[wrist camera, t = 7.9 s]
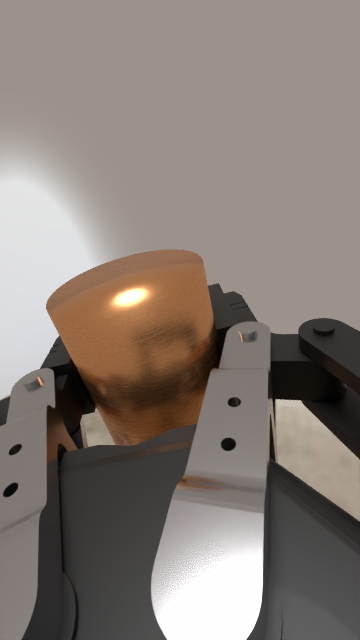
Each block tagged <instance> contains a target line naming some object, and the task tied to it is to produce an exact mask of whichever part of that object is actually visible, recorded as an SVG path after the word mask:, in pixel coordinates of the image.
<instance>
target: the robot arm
mask: <svg viewBox="0 0 360 640" xmlns="http://www.w3.org/2000/svg"><path fill="white" fill-rule="evenodd" d="M208 290H209V295H210V300H211V305H212V311H213V316H214V325H215V330H216V335H217V340H218V345H219V350H220V356H221V361H220V365H219V368H213V369H212V370H211V372H210V376H209V380H208V384H207V388H206V392H205V396H204V400H203V404H202V407H201V411H200V415H199V419H198V423H197V424H194V425H190V426H185V427H180V428H176V429H171V430H169V431H167V432H164V433H162V434H160V435H157V436H155V437H153V438H151V439H148V440H146V441H144V442H142V443H139V444H137V445H133V446H119V445H96V446H92V447H88V444H87V438H86V432H85V427H84V424H83V423H82V421H81V418H82V415H84V414H89V413H93V412H95V408H96V405H95V403H94V401H93V400H92V398H91V396H90V394H89V392H88V390H87V388H86V386H85V384H84V382H83V380H82V378H81V376H80V374H79V372H78V370H77V368H76V366H75V364H74V362H73V361H72V359H71V357H70V355H69V353H68V351H67V349H66V347H65V345H64V343H63V341H62V339H61V337H60V336H59V337H58V338H57V339H56V341H55V343H54V344H53V347H52V348H51V350H50V352H49V354H48V356H47V357H46V359H45V361H44V362H43V364H42V366H41V368H40V369H38V370H35V371H33V372H31V373H29V374H27V375H25V376H24V377H22V378H21V379H20V380H19V381H18V382H17V383H16V384H15V385H14V386H13V388H12V391H11V396H10V397H8V398H5V399H3V400H1V401H0V640H360V521H358V520H357V519H355V518H354V517H353V516H351V515H350V514H348V513H347V512H346V511H344V510H343V509H341V508H340V507H339V506H337V505H336V504H334V503H333V502H331V501H330V500H329V499H327V498H326V497H324V496H323V495H322V494H320V493H319V492H317V491H316V490H315V489H313V488H312V487H310V486H309V485H308V484H306V483H305V482H303V481H302V480H301V479H299V478H298V477H296V476H295V475H293V474H292V473H291V472H289V471H288V470H286V469H285V468H284V467H282V466H281V465H279V464H278V458H277V435H276V399H285V400H301V401H302V403H303V404H304V405H305V406H306V407H307V408H308V409H309V410H310V411H311V412H312V413H313V414H314V415H315V416H316V417H317V418H318V419H319V420H320V421H321V422H322V423H323V424H324V425H325V426H326V427H327V428H328V429H329V430H330V431H331V432H332V433H333V434H334V435H335V436H336V437H337V438H338V439H339V440H340V441H341V442H342V443H343V444H344V445H345V446H347V447H348V448H349V449H350V450H351V451H352V452H353V453H354V454H355V455H356V456H357V457H358V458H359V459H360V331H358V330H356V329H354V328H352V327H350V326H348V325H347V324H345V323H343V322H340V321H338V320H334V319H327V318H319V319H313V320H309V321H307V322H304V323H303V324H302V325H301V326H300V328H299V331H298V333H299V334H274V333H271V332H270V329H269V327H268V326H267V325H265V324H263V323H259V322H258V321H257V320H256V318H255V317H254V315H253V313H252V312H251V310H250V308H248V305H247V304H246V303H245V300H244V299H243V297H242V296H241V295H240V294H238V293H236V292H229V293H223V291H222V289H221V287H220V285H219V283H218V284H213V285H209V286H208Z"/></svg>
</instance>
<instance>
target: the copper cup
mask: <svg viewBox="0 0 360 640" xmlns="http://www.w3.org/2000/svg"><path fill="white" fill-rule="evenodd" d="M46 309H47V312H48V314H49V315H50V318H51V320H52V321H53V323H54V325H55V327H56V329H57V331H58V333H59V335H60V337H61V339H62V341H63V343H64V345H65V347H66V349H67V351H68V353H69V355H70V357H71V359H72V361H73V362H74V364H75V366H76V368H77V370H78V372H79V374H80V376H81V378H82V380H83V382H84V384H85V386H86V388H87V390H88V392H89V394H90V396H91V398H92V400H93V401H94V403H95V405H96V407H97V409H98V411H99V413H100V415H101V417H102V419H103V421H104V423H105V425H106V427H107V429H108V431H109V433H110V435H111V437H112V439H113V441H114V442H115V444H116V445H119V446H133V445H137V444H139V443H142V442H144V441H146V440H148V439H151V438H153V437H155V436H157V435H160V434H162V433H164V432H167V431H169V430H171V429H176V428H180V427H185V426H190V425H194V424H197V423H198V419H199V415H200V411H201V407H202V404H203V400H204V396H205V392H206V388H207V384H208V380H209V376H210V372H211V370H212V369H213V368H219V365H220V361H221V356H220V350H219V345H218V340H217V335H216V330H215V325H214V316H213V311H212V305H211V300H210V295H209V290H208V285H207V280H206V275H205V269H204V264H203V260H202V258H201V257H200V256H199V255H198V254H196V253H193V252H190V251H185V250H158V251H150V252H145V253H139V254H135V255H131V256H127V257H123V258H120V259H117V260H113V261H110V262H108V263H105V264H102V265H100V266H97V267H95V268H92V269H90V270H88V271H86V272H84V273H82V274H80V275H78V276H76V277H74V278H73V279H71V280H69V281H68V282H66V283H65V284H63V285H62V286H61V287H60V288H58V289H57V290H56V291H55V292H54V293H53V294H52V295H51V296H50V298H49V299H48V301H47V304H46Z"/></svg>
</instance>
